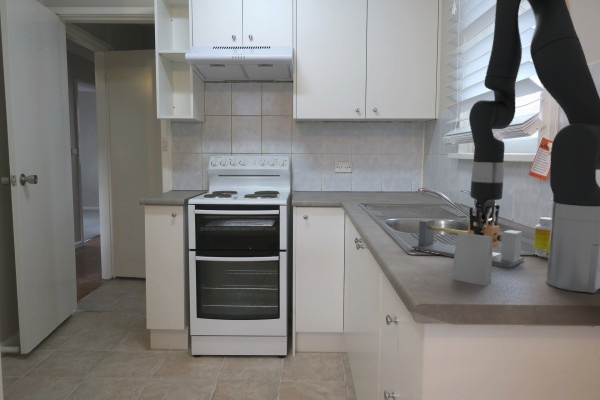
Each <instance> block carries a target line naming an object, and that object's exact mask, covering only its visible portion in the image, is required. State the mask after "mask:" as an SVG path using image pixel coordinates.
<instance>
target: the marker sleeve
mask: <svg viewBox="0 0 600 400" xmlns="http://www.w3.org/2000/svg"><path fill="white" fill-rule="evenodd" d="M477 226H478V225H477ZM500 227H501V226H500V225H497V226H496V225H488V224H487V225H485V230H484V236H490V237H492V249H494V248H496V247H499V242H500V241H497V239H494V235H497V236H498V235H500V230H501V229H500ZM467 231H468V234H474V232H473V230H470V224H468V226H467Z"/></svg>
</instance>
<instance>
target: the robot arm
mask: <svg viewBox="0 0 600 400" xmlns="http://www.w3.org/2000/svg"><path fill="white" fill-rule="evenodd" d="M526 1H527V2H528V3H529V5H530V8H531V11H532V14H533V18H534V20H535V21H534V22H535V27H534V30H533V34H532V37H531V41H530V44H529V45H530V47H529V48H530V49H529V51H530V58H531V60H532V64H533V67H534V70H535V73H536V76H537V78H538V80H539V82H540V83H541V85H542V86H543V88H544V89H545V90H546V92H547V93H548V94H549V95H550V96H551V98H552V99H554V100H555V103H557V104H558V106H560V108H561V109H562V111H563V112H564V115H565V117H566V119H567V121H568V124H567V125H564V127H562V128H560V129H559V130H558V131H557V133H556V134H555V136H554V138H553V142H552V145H551V150H550V165H549V166H550V170H549V171H550V174H549V186H550V189H551V192H552V195H553V197H552V198H553V199H552V209H551V210H552V211H551V218H552V219H551V231H550V243H549V255H548V258H547V266H546V267H547V268H546V269H547V270H546V279H545V281H546V284H548V285H550V286H552V287H554V288H558V289H561V290H565V291H566V290H567V291H572V292H582V293H591V294H596V292H598V290H599V289H600V186H599V184H598V183H597V171H600V96H599V93H598V90H597V86H596V84H595V81H594V79H593V75H592V72H591V70H590V68H589V65H588V61H587V58H586V55H585V51H584V50H583V47H582V44H581V41H580V38H579V36H578V34H577V32H576V29H575V25H574V22H573V20H572V16H571V14H570V11H569V8H568V5H567V1H566V0H526ZM521 2H522V0H496V1H495V3H496V4H495V16H494V29H493V39H492V45H491V53H490V56H489V60H488V64H487V68H486V73H485V78H484V82H483V83H484V87H485V88H486V89H488V90H490V91H492V92H493V95H494V96H493V97H494V100H491V99H481V100H477V101H476V102H474V103H473V105H472V107H471V109H470V111H469V116H468V118H469V127H470V132H471V137H472V140H473V145H474V150H473V163H472V169H471V179H470V180H471V182H470V195H469V196H470V198H471V199H475V200H476V202H475V206H474V207H469V225H470V230H473V232H474V235H482V236H484V230H485V225H487V224H488V225H496V226H498V222H499V213H500V208H501V207H500V204H496V201H499V200H501V199H503V192H504V191H503V189H504V175H505V170H504V169H505V167H504V160H505V159H504V157H505V142H504V141H503V140H501V139H499V138H498V137H497V138H496V136H494V133H493V130H503V129H506V128H508V127H509V126H510V125H511V123H512V122H513V120H514V118H515V115H516V82H517V79H518V75H519V72H520V66H521V62H522V57H523V46H522V39H521V34H520V29H519V28H520V27H519V11H520V5H521ZM477 225H478V226H477Z"/></svg>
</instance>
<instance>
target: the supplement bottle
mask: <svg viewBox="0 0 600 400" xmlns="http://www.w3.org/2000/svg"><path fill="white" fill-rule="evenodd" d="M551 219H552V217H544V216H543V217H539V221H538V224H536V225H535V228H534V229H535V230H534V240H533V252H532V253H533V254H536V255H537V256H536V255H535V256H536V257H540V258H545V259H546V258H547V259H548V255H549V243H550V231H551Z"/></svg>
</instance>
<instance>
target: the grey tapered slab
mask: <svg viewBox="0 0 600 400" xmlns="http://www.w3.org/2000/svg"><path fill="white" fill-rule="evenodd" d="M455 246H456V248H455V255H454V258H453V271H452V272H453V273H452V275H453V276H452V280H454V281H458V282H463V283H469V284H474V285H480V286H484V287H486V286H488V285H489V284H490V283H491V280H492V268H493V267H492V266H493V265H492V255H493V254H492V252H493V248H492V237H490V236H482V235H474V234H466V233H458V234H457V238H456V245H455Z"/></svg>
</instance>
